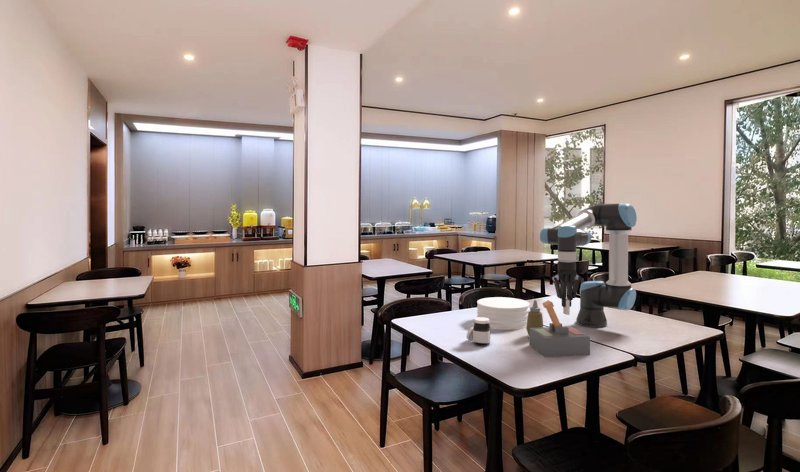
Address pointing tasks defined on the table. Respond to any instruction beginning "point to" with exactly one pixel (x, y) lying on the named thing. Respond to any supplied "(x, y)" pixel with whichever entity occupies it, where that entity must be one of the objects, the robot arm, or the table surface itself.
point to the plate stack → (504, 312)
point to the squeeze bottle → (534, 317)
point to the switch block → (559, 341)
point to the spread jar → (480, 332)
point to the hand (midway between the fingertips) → (566, 313)
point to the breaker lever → (552, 313)
